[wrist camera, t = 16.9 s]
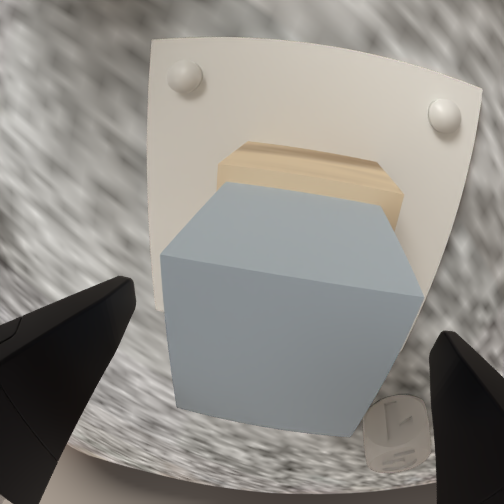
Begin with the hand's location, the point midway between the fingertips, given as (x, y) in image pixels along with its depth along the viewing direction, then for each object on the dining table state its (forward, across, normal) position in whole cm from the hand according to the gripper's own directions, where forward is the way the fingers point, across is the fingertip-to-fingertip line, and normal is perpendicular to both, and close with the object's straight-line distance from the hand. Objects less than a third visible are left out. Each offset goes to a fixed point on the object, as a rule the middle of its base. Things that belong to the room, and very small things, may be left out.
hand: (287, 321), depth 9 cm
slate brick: (+3, 0, 0) cm, 3 cm away
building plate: (+9, 0, 0) cm, 9 cm away
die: (+9, -11, +16) cm, 21 cm away
